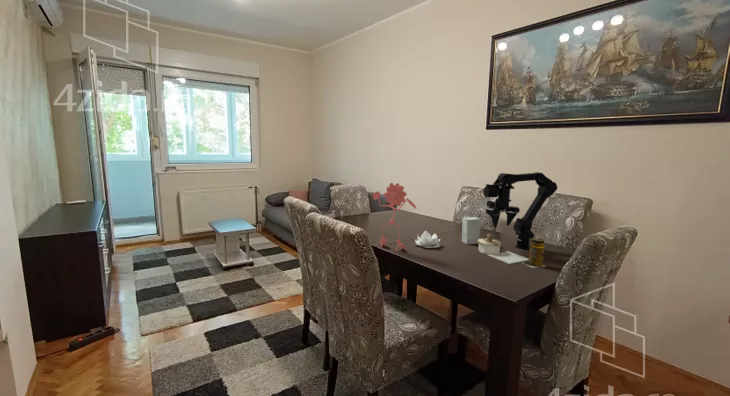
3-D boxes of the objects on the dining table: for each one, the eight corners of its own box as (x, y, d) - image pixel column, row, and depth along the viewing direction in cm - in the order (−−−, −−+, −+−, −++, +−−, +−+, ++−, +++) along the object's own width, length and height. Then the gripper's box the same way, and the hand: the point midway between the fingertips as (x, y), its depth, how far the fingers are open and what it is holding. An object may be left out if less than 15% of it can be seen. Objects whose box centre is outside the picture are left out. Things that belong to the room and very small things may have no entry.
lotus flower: (441, 244, 186) (442, 229, 185) (440, 252, 172) (440, 236, 171) (415, 242, 190) (416, 227, 189) (412, 249, 176) (412, 233, 175)
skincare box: (474, 242, 192) (475, 216, 190) (479, 244, 186) (481, 218, 184) (460, 242, 190) (462, 217, 188) (466, 245, 184) (467, 219, 182)
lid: (489, 238, 180) (490, 231, 179) (506, 244, 170) (507, 236, 169) (472, 241, 175) (473, 232, 175) (489, 247, 165) (490, 238, 164)
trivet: (507, 252, 173) (507, 251, 173) (530, 260, 161) (530, 259, 161) (487, 255, 167) (487, 254, 167) (509, 264, 155) (509, 263, 155)
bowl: (488, 248, 180) (489, 239, 179) (503, 253, 171) (504, 244, 170) (474, 250, 176) (474, 241, 175) (488, 256, 166) (489, 246, 166)
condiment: (547, 266, 153) (549, 241, 151) (532, 268, 150) (534, 242, 149) (535, 261, 160) (537, 237, 158) (520, 262, 157) (522, 238, 156)
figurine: (410, 256, 164) (412, 185, 159) (366, 247, 178) (367, 182, 173) (422, 249, 177) (425, 183, 172) (380, 241, 191) (382, 180, 186)
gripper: (504, 194, 186) (502, 221, 188) (479, 196, 178) (477, 224, 181) (521, 197, 176) (519, 226, 178) (494, 198, 168) (492, 229, 171)
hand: (501, 226), depth 177 cm, fingers open, 9 cm apart
